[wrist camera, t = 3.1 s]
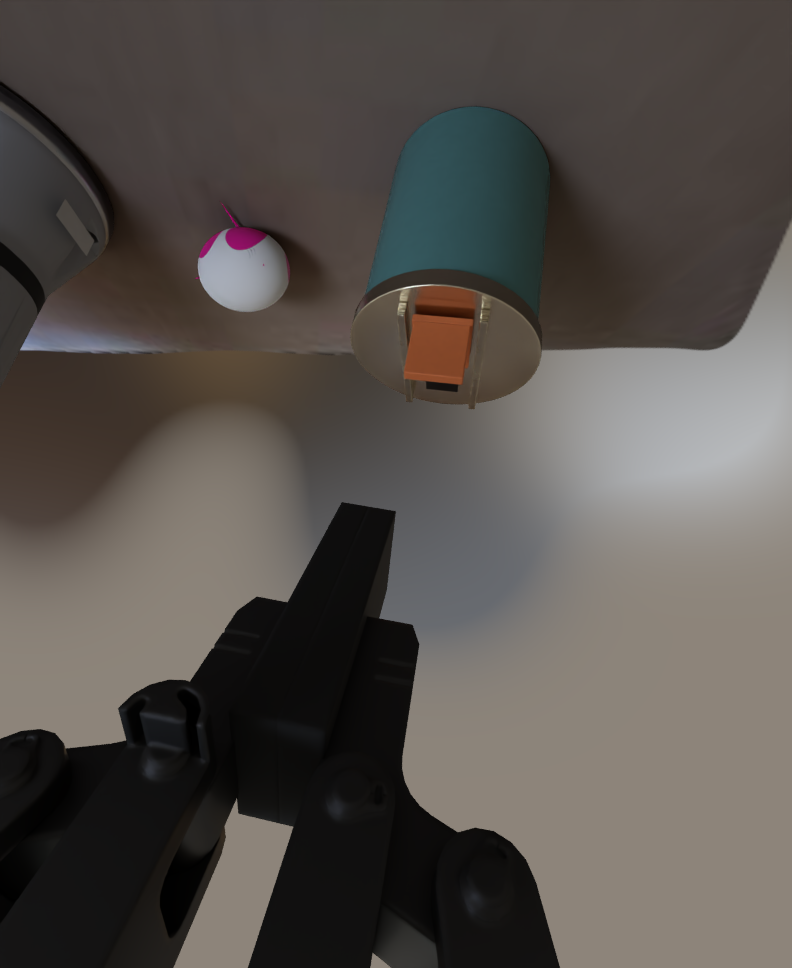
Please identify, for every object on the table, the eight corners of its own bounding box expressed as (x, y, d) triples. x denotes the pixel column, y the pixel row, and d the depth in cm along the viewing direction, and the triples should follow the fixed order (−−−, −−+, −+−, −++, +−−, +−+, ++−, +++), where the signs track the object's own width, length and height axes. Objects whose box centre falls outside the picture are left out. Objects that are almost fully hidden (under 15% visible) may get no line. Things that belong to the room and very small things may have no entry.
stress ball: (289, 185, 36) (242, 191, 31) (317, 293, 41) (280, 314, 35) (210, 205, 39) (155, 213, 34) (244, 304, 43) (199, 325, 38)
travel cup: (382, 97, 27) (329, 290, 22) (576, 102, 25) (562, 309, 21) (396, 250, 36) (362, 405, 32) (536, 259, 35) (521, 423, 30)
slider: (412, 313, 23) (401, 372, 22) (473, 318, 23) (465, 378, 22) (415, 357, 27) (405, 410, 25) (468, 362, 26) (461, 416, 25)
